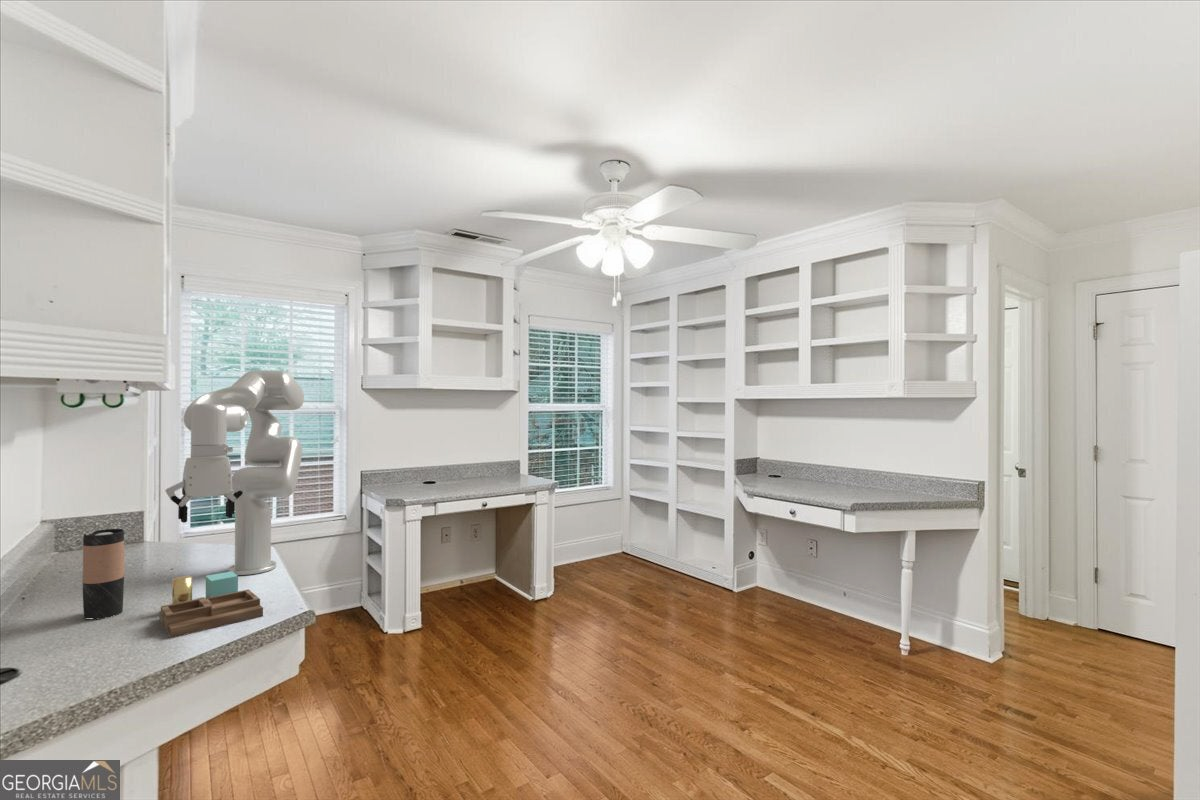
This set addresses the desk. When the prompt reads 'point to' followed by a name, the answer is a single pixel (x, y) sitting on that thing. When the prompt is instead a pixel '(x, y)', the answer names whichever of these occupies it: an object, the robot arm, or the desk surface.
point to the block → (221, 584)
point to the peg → (181, 589)
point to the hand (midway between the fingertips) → (206, 519)
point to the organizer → (209, 612)
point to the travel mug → (103, 573)
